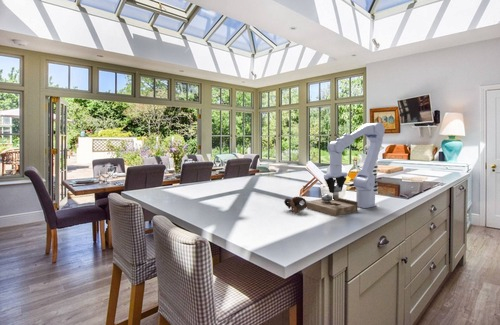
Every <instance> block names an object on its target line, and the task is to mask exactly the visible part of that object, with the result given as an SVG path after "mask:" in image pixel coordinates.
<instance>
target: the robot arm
mask: <svg viewBox="0 0 500 325" xmlns="http://www.w3.org/2000/svg"><path fill="white" fill-rule="evenodd" d="M385 132H386V128H385V126H384V124H383V123H382V122H371V123H369V122H366V123H364V124H362V125H360V127H358V128H357V129H356V130H354V131H353V132H351V133H343V134H342V136H341V137H337V138H336V139H335V140H331V141H330V142H329V143H328V145H327V146H326V148H327V151H328V153H329V172H328V173H327V174H324V175H323V179H324V181H325V183H326V184H327V188H328V191H329V192H328V193H331V194H333V193H334V185H339V186H340V187H341V192H342V190H343V188H344V184H345V182H346V181H347V177H348V173H347V172H344V171H343V169H342V168H343V166H342V165H343V153H344V151H345V150H346V148H347V147H349V146H350V145H353V144H354V142H355V140H356V139H358V138H360V137H361V136H365V137H366V138H367V140H368V141H369V142H370V144H369V146H368V150H367V153H366V156H365V158H364V162H363V165H362V168H361V169H360V171H358V172H357V173H356V176H355V177H354V178H353V181H352V182H353V183H352V184H353V186H354V187H355V189H356V191H355V192H356V193H355V194H356V196H355V197H356V198H355V199H356V200H355V201H356V202H358V208H363V209H368V208H372V207H377V204H376V192H375V190H374V187H375V185H376V183H375V182H376V181H375V180H376V178H377V177H376V176H375V175H374V173H373V172H374V170H375V166H376V163H377V160H378V157H379V154H380V151H381V148H382V144H383V140H384V134H385Z"/></svg>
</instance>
